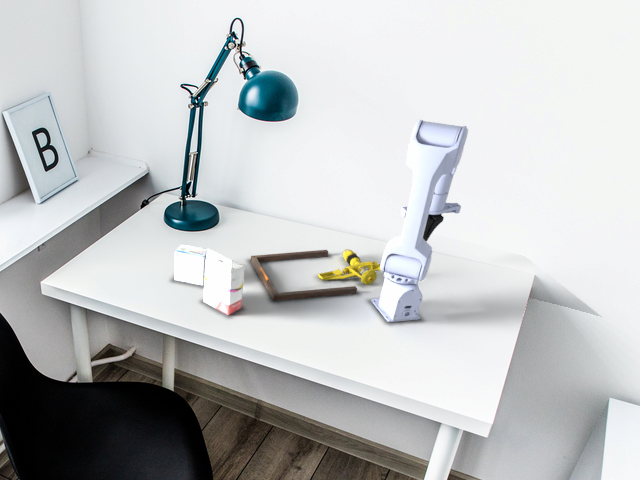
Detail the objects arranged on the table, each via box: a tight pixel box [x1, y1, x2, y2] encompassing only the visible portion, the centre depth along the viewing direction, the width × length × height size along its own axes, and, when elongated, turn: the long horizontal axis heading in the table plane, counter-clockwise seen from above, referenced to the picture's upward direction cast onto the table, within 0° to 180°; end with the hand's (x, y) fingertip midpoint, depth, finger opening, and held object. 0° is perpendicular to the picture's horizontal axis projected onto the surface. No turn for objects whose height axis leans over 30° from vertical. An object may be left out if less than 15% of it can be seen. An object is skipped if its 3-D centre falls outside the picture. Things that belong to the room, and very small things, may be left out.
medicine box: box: [174, 243, 209, 287], centre depth 166 cm, size 8×4×9 cm, turn 65°
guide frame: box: [250, 249, 358, 302], centre depth 168 cm, size 20×21×2 cm
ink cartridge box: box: [203, 248, 245, 316], centre depth 154 cm, size 9×5×15 cm, turn 40°
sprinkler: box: [317, 248, 382, 286], centre depth 169 cm, size 19×4×15 cm
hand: (422, 239), depth 167 cm, fingers closed
